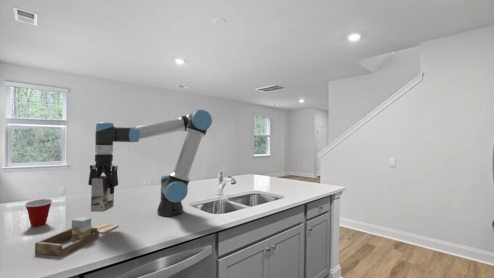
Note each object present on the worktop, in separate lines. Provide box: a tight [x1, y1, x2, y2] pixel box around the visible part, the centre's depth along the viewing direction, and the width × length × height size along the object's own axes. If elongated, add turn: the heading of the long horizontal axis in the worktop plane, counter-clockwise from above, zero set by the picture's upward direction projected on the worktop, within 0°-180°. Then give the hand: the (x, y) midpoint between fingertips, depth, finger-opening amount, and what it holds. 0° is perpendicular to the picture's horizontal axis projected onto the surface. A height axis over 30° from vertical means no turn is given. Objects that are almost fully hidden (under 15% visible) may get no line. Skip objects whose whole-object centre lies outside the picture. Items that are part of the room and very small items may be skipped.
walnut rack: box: [34, 226, 100, 257], centre depth 97 cm, size 12×18×4 cm, turn 171°
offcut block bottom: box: [70, 231, 91, 242], centre depth 103 cm, size 6×4×3 cm, turn 78°
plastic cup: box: [24, 198, 53, 228], centre depth 118 cm, size 11×11×12 cm
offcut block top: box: [71, 216, 92, 228], centre depth 103 cm, size 6×4×3 cm, turn 78°
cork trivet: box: [93, 223, 119, 234], centre depth 114 cm, size 10×9×1 cm
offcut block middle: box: [71, 224, 92, 235], centre depth 103 cm, size 6×4×3 cm, turn 78°
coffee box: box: [90, 175, 115, 213], centre depth 114 cm, size 9×6×16 cm
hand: (102, 199), depth 114 cm, fingers closed on coffee box, 7 cm apart
